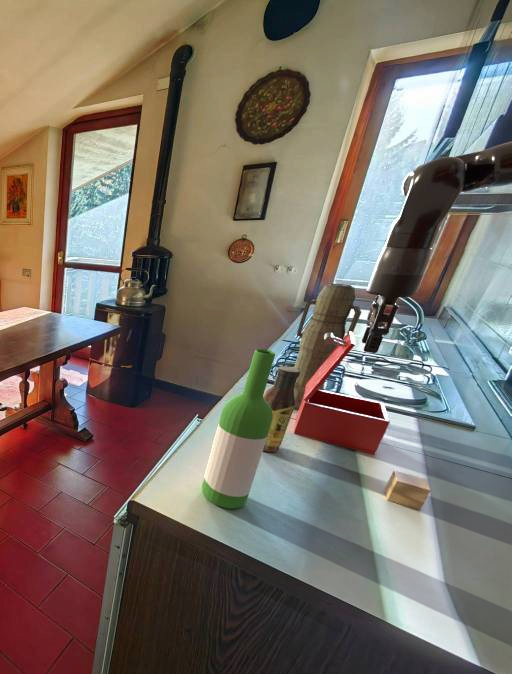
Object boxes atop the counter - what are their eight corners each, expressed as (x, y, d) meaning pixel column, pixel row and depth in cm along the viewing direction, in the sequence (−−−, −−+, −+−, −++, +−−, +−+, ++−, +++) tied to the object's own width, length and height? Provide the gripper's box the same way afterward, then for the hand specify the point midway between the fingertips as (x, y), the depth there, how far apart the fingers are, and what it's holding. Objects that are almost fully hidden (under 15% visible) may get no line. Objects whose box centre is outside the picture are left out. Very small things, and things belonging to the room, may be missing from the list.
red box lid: (352, 333, 96) (330, 324, 98) (355, 344, 87) (330, 334, 89) (308, 386, 105) (289, 377, 107) (307, 401, 96) (285, 391, 98)
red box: (370, 433, 100) (383, 403, 96) (374, 455, 91) (390, 421, 87) (296, 415, 109) (306, 387, 105) (293, 433, 99) (304, 402, 96)
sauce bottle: (272, 456, 89) (299, 376, 82) (243, 444, 94) (267, 368, 86) (283, 447, 93) (311, 370, 85) (255, 436, 98) (279, 362, 90)
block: (415, 497, 77) (426, 478, 75) (419, 510, 73) (430, 490, 71) (384, 488, 79) (393, 469, 77) (387, 500, 76) (396, 480, 74)
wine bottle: (231, 485, 79) (273, 344, 68) (254, 511, 72) (305, 359, 61) (193, 484, 79) (229, 344, 68) (212, 511, 72) (256, 359, 60)
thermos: (321, 416, 108) (369, 289, 95) (272, 403, 116) (310, 283, 102) (326, 407, 114) (372, 285, 101) (279, 394, 122) (316, 280, 108)
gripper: (430, 276, 72) (395, 359, 78) (418, 269, 82) (388, 343, 88) (375, 273, 76) (346, 352, 82) (371, 267, 86) (345, 337, 92)
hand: (368, 347), depth 85 cm, fingers open, 8 cm apart
